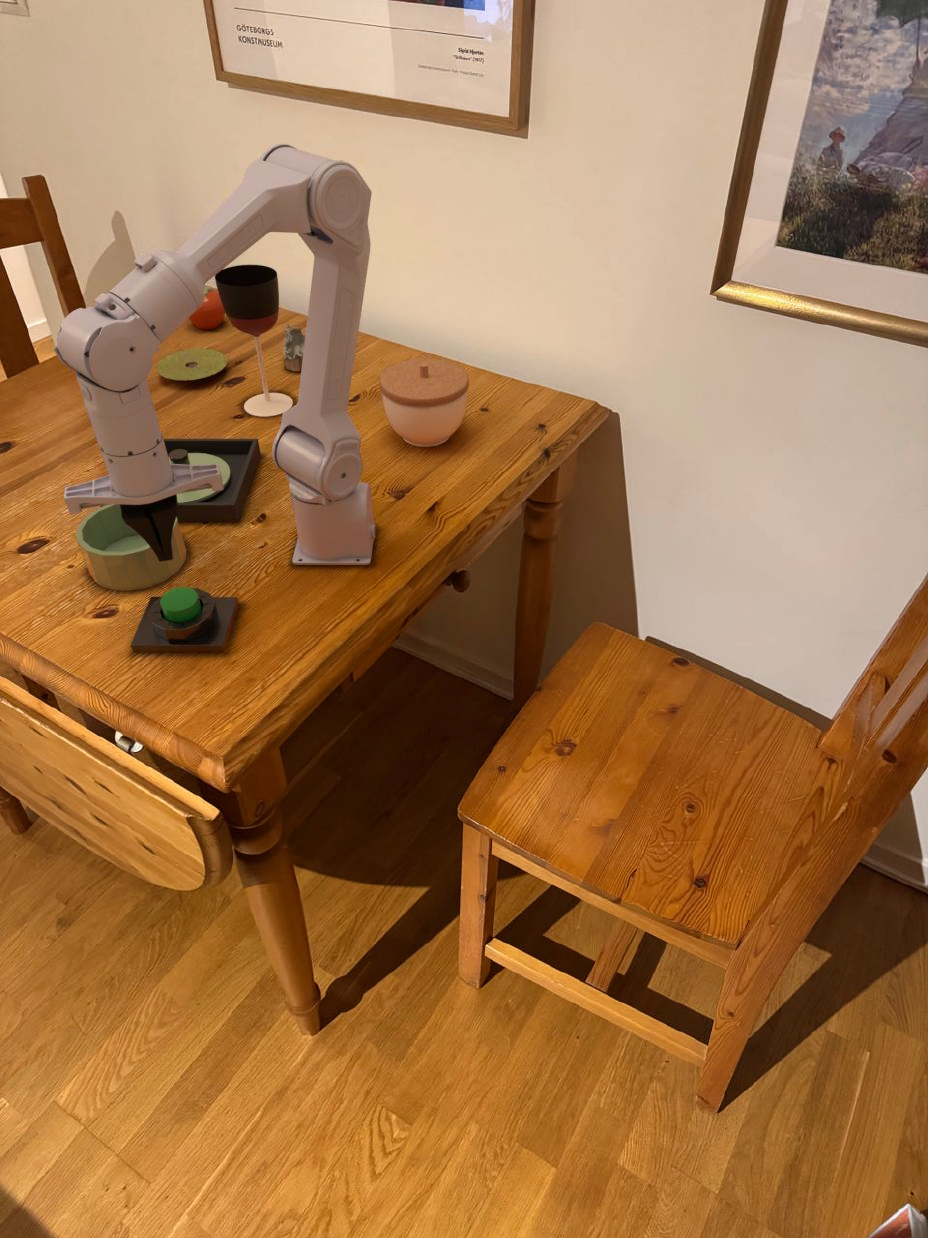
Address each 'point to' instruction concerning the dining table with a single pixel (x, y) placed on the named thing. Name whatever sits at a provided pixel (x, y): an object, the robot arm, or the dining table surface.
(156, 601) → the panel
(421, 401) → the lidded bowl
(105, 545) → the pot
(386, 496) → the dining table surface
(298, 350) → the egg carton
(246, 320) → the wineglass
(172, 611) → the button
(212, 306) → the tomato
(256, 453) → the tray
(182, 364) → the mat
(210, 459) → the lid
